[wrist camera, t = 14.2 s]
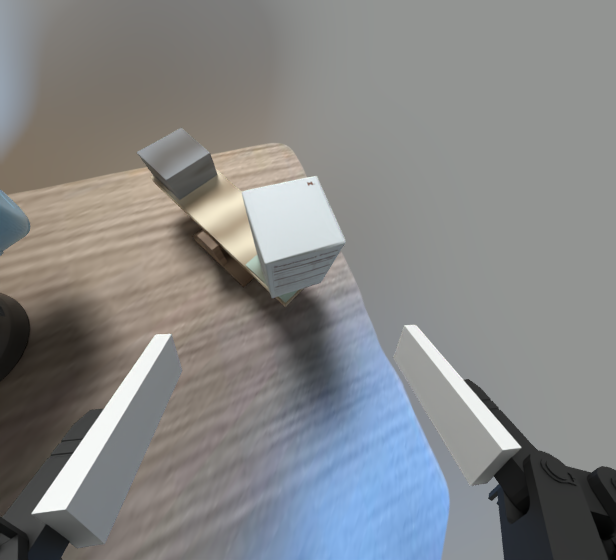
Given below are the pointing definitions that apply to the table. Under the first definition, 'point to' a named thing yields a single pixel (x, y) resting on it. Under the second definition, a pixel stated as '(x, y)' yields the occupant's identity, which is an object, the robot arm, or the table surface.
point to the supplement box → (293, 233)
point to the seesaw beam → (206, 198)
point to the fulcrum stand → (223, 257)
